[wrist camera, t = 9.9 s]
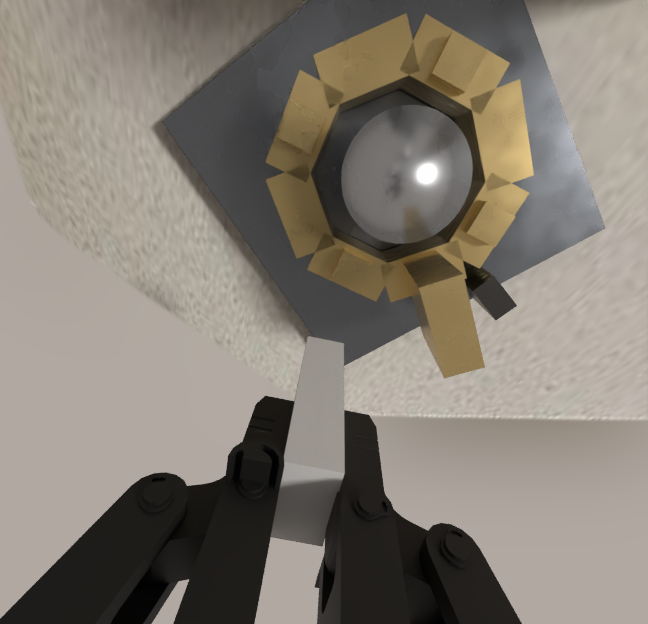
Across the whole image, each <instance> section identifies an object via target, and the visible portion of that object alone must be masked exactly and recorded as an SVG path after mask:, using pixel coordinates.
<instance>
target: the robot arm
mask: <svg viewBox="0 0 648 624" xmlns="http://www.w3.org/2000/svg"><path fill="white" fill-rule="evenodd" d="M377 439H378V438H377V430H376V426H375V425H374V423H373V421H372V419H371V418H370V416H369V415H366V414H361V413H356V412H351V411H345V410H344V343H340V342H335V341H330V340H325V339H320V338H315V337H310V336H308V337H307V342H306V347H305V352H304V357H303V361H302V366H301V371H300V376H299V381H298V386H297V390H296V395H295V400H294V401H289V400H284V399H279V398H274V397H268V396H265V397H264V398H262V399H261V400H260V401H259V402H258V403H257V404H256V406H255V409H254V412H253V414H252V417H251V420H250V422H249V425H248V428H247V431H246V434H245V437H244V439H243V442H241V443H240V444H239V445H237V446H235V447H234V448H233V449H232V451H231V452H230V454H229V455H228V463H227V470H226V476H224V477H223V478H221V479H220V480H217V481H215V482H212V483H207V484H202V485H192V486H187V485H186V484H185V482H184V480H183V479H181V478H180V477H178V476H177V475H174V474H169V473H155V474H151V475H149V476H146V477H144V478H141V479H140V480H139V481H137V482H136V483H135V484H133V485H132V486H131V487H130V488H129V489H128V490H127V491H126V492H125V493H124V494H123V495H122V496H121V497H120V498H119V499H118V500H117V501H116V502H115V503H114V504H113V505H112V506H111V507H110V508H109V509H108V510H107V511H106V512H105V513H104V514H103V515H102V516H101V517H100V519H98V520H97V521H96V522H95V523H94V524H93V525H92V526H91V527H90V528H89V529H88V530H87V531H86V532H85V534H83V535H82V537H80V538H79V539H78V541H77V542H76V543H75V544H74V545H73V546H72V547H71V548H70V549H69V550H68V551H67V552H66V553H65V554H64V555H63V556H62V557H61V558H60V559H59V560H58V561H57V562H56V563H55V564H54V565H53V566H52V567H51V568H50V569H49V570H48V571H47V572H46V573H45V574H44V575H43V576H42V577H41V578H40V579H39V580H38V581H37V582H36V583H35V584H34V585H33V586H32V587H31V588H30V589H29V590H28V591H27V592H26V593H25V594H24V595H23V596H22V597H21V598H20V599H19V600H18V601H17V602H16V603H15V604H14V605H13V606H12V607H11V609H10V610H8V612H6V614H5V615H4V616H3V617H2V618H1V619H0V624H151V623H152V622H153V620H154V619H155V617H156V615H157V614H158V612H159V611H160V609H161V608H162V606H163V605H164V603H165V601H166V600H167V598H168V597H169V595H170V593H171V592H172V590H173V589H174V587H175V586H176V584H177V583H178V581H182V580H187V579H189V582H188V585H187V588H186V590H185V593H184V596H183V599H182V601H181V604H180V607H179V610H178V613H177V615H176V618H175V621H174V624H254V622H255V617H256V612H257V606H258V601H259V596H260V590H261V585H262V579H263V574H264V568H265V564H266V558H267V553H268V548H269V542H270V537H274V538H280V539H285V540H290V541H296V542H301V543H307V544H312V545H317V546H323V542H324V539H325V554H324V558H323V560H322V564H321V567H320V570H319V573H318V576H317V580H316V584H315V587H317V588H319V601H318V619H317V624H522V623H521V622H520V620H519V618H518V616H517V614H516V613H515V611H514V609H513V607H512V606H511V604H510V602H509V600H508V598H507V597H506V595H505V593H504V591H503V590H502V588H501V586H500V584H499V582H498V581H497V579H496V577H495V576H494V573H493V572H492V570H491V568H490V566H489V565H488V563H487V561H486V559H485V557H484V556H483V554H482V552H481V550H480V549H479V547H478V546H477V545H476V543H475V542H474V540H473V539H472V538H471V537H470V536H469V535H468V534H466V533H465V532H464V531H463V530H461V529H459V528H457V527H455V526H453V525H451V524H444V523H440V524H437V525H433V526H432V527H431V528H430V529H429V531H427V530H425V529H423V528H421V527H419V526H417V525H415V524H413V523H411V522H409V521H408V520H406V519H404V518H403V517H401V516H400V515H399V514H398V513H397V512H396V511H394V509H393V507H392V504H391V502H390V501H389V499H388V498H387V497H386V495H385V492H384V487H383V479H382V471H381V462H380V456H379V455H380V454H379V447H378V441H377Z"/></svg>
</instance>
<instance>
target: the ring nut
mask: <svg viewBox="0 0 648 624" xmlns="http://www.w3.org/2000/svg"><path fill="white" fill-rule="evenodd" d="M313 57H314V61H315V65H316V70H317V73H318V76H319V79H320V80H318V79H316V78H314V77H313V76H311V75H309V74H307V73H305V72H303V71H301V70H300V71H299V73H298V76H297V79H296V81H295V84H294V87H293V89H292V92H291V95H290V97H289V100H288V103H287V105H286V108H285V111H284V113H283V116H282V119H281V122H280V124H279V127H278V130H277V132H276V135H275V138H274V140H273V143H272V146H271V148H270V151H269V154H268V156H267V159H266V163H268V164H270V165H272V166H274V167H276V168H278V169H280V170H282V171H284V173H282V174H279V175H277V176H274V177H272V178H269V179H267V180H266V182H267V185H268V187H269V190H270V192H271V195H272V197H273V200H274V203H275V205H276V208H277V210H278V213H279V215H280V218H281V220H282V223H283V225H284V228H285V230H286V233H287V235H288V238H289V241H290V243H291V246H292V248H293V251H294V253H295V256H296V258H300V257H303V256H306V255H309V254H312V253H313V254H312V257H311V259H310V262H309V265H308V268H307V270H309V271H311V272H313V273H315V274H317V275H320V276H322V277H324V278H326V279H328V280H330V281H333V282H335V283H337V284H339V285H341V286H343V287H345V288H348V289H350V290H352V291H354V292H356V293H358V294H361V295H363V296H365V297H367V298H369V299H371V300H374V301H377V299H378V297H379V296H380V294H381V292H382V290H383V288H384V287H385V289H386V292H387V294H388V297H389V300H390V302H394V301H397V300H400V299H403V298H406V297H410V296H412V299H413V302H414V306H415V309H416V313H417V316H418V320H419V323H420V327H421V330H422V333H423V336H424V338H425V340H426V343H427V345H428V347H429V349H430V351H431V353H432V355H433V357H434V359H435V361H436V363H437V365H438V367H439V369H440V371H441V373H442V375H443V377H444V378H447V377H451V376H454V375H458V374H462V373H465V372H469V371H473V370H476V369H480V368H484V367H485V366H484V362H483V357H482V353H481V349H480V344H479V340H478V336H477V331H476V327H475V323H474V318H473V314H472V310H471V305H470V301H469V297H468V292H467V288H466V283H465V279H467V277H466V272H465V268H464V263H463V261H465V262H467V263H469V264H471V265H473V266H475V267H477V268H479V269H480V268H481V266H482V265H483V263H484V262H485V260H486V259H487V257H488V255H489V254H490V252H491V251H492V249H493V248H494V247H496V246H497V244H498V243H499V241H500V240H501V238H502V237H503V235H504V234H505V232H506V231H507V229H508V228H509V226H510V224H511V223H512V221H513V220H514V218H515V214H516V213H517V211H518V210H519V208H520V207H521V205H522V204H523V202H524V201H525V199H526V198H527V196H528V195H529V192H527V191H525V190H523V189H521V188H520V187H518V186H516V185H514V184H512V183H513V182H516V181H519V180H522V179H525V178H528V177H530V176H533V175H534V172H533V165H532V158H531V151H530V144H529V137H528V130H527V123H526V117H525V110H524V103H523V96H522V89H521V82H520V79H519V80H516V81H514V82H511V83H509V84H506V85H504V86H501V87H499V88H496V87H497V86H498V84H499V82H500V80H501V78H502V77H503V75H504V73H505V71H506V70H507V68H508V66H509V64H510V63H509V62H507V61H506V60H504V59H502V58H501V57H499V56H497V55H495V54H494V53H492V52H490V51H489V50H487V49H485V48H484V47H482V46H480V45H478V44H477V43H475V42H473V41H472V40H470V39H468V38H466V37H465V36H463V35H461V34H460V33H458V32H456V31H454V30H453V29H451V28H449V27H448V26H446V25H444V24H442V23H441V22H439V21H437V20H436V19H434V18H432V17H430V16H429V15H427V14H425V16H424V18H423V20H422V21H421V23H420V25H419V27H418V29H417V31H416V32H415V34H414V36H413V38H412V35H411V31H410V26H409V22H408V17H407V13H405V14H403V15H401V16H399V17H397V18H394V19H392V20H390V21H388V22H385V23H383V24H381V25H379V26H377V27H374V28H372V29H370V30H368V31H365V32H363V33H361V34H359V35H356V36H354V37H352V38H350V39H348V40H345V41H343V42H341V43H339V44H336V45H334V46H332V47H330V48H327V49H325V50H323V51H321V52H319V53H316V54H314V55H313ZM399 88H400V89H402V90H404V91H406V92H408V93H410V94H411V95H413V96H415V97H417V98H419V99H420V100H422V101H424V102H426V103H428V104H430V105H431V106H433V107H435V108H437V109H439V110H440V111H442V112H444V113H446V114H448V115H450V116H451V117H453V118H454V119H455V124H456V125H457V126H458V127H459V128H460V130H461V131H462V132H463V134H464V136H465V138H466V140H467V142H468V145H469V148H470V152H471V156H472V165H473V170H472V181H471V186H470V189H469V193H468V196H467V198H466V200H465V203H464V204H463V206H462V208H461V210H460V211H459V212H458V214H457V215H456V217H455V218H454V219H453V220H452V221H451V222H450V223H449V224H448V225H447V226H446V227H445V228H443V229H442V230H441V231H439V232H438V233H436V234H435V235H433V236H431V237H429V238H427V239H424V240H421V241H418V242H413V243H407V244H404V245H401V246H398V247H395V248H392V249H390V250H387V251H384V252H381V251H379V250H377V249H375V248H373V247H371V246H369V245H367V244H365V243H363V242H360V241H358V240H356V239H354V238H352V237H350V236H348V235H346V234H344V233H342V232H340V231H338V230H336V229H334V228H333V226H332V223H331V220H330V217H329V214H328V211H327V208H326V206H325V203H324V200H323V197H322V194H321V191H320V188H319V185H318V182H317V180H316V177H315V174H314V172H315V170H316V167H317V165H318V163H319V160H320V158H321V155H322V153H323V151H324V148H325V146H326V144H327V141H328V139H329V137H330V134H331V132H332V130H333V127H334V125H335V123H336V120H337V118H338V116H339V113H341V112H343V111H346V110H348V109H350V108H353V107H355V106H358V105H360V104H362V103H365V102H367V101H370V100H372V99H374V98H377V97H379V96H382V95H384V94H387V93H389V92H391V91H394V90H396V89H399Z"/></svg>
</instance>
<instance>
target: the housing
mask: <svg viewBox="0 0 648 624" xmlns="http://www.w3.org/2000/svg"><path fill="white" fill-rule="evenodd" d="M405 13H407V17H408V22H409V26H410V31H411V35H412V38H413V36H414V34H415V32H416V31H417V29H418V27H419V25H420V23H421V21H422V20H423V18H424V16H425V14H427V15H429V16H430V17H432V18H434V19H436V20H437V21H439V22H441V23H442V24H444V25H446V26H448V27H449V28H451V29H453V30H454V31H456V32H458V33H460V34H461V35H463V36H465V37H466V38H468V39H470V40H472V41H473V42H475V43H477V44H478V45H480V46H482V47H484V48H485V49H487V50H489V51H490V52H492V53H494V54H495V55H497V56H499V57H501V58H502V59H504V60H506V61H507V62H509V63H510V64H509V66H508V68H507V70H506V71H505V73H504V75H503V77H502V78H501V80H500V82H499V84H498V86H497V87H496V88H499V87H501V86H504V85H506V84H509V83H511V82H514V81H516V80H519V79H520V82H521V89H522V96H523V103H524V110H525V117H526V123H527V130H528V137H529V144H530V151H531V158H532V165H533V172H534V175H533V176H530V177H528V178H525V179H522V180H519V181H516V182H513V183H512V184H514V185H516V186H518V187H520V188H521V189H523V190H525V191H527V192H529V195H528V196H527V198H526V199H525V201H524V202H523V204H522V205H521V207H520V208H519V210H518V211H517V213H516V214H515V218H514V220H513V221H512V223H511V224H510V226H509V228H508V229H507V231H506V232H505V234H504V235H503V237H502V238H501V240H500V241H499V243H498V244H497V246H496V247H494V248H493V249H492V251H491V252H490V254H489V255H488V257H487V259H486V260H485V262H484V263H483V265H482V266H481V268H480V269H479V268H477V267H475V266H473V265H471V264H469V263H467V262H465V261H463V263H464V268H465V272H466V277H467V279H465V283H466V288H467V292H468V297H469V300H470V299H472V298H473V299H474V300H475V301H476V302H477V303H479V304H480V305H481V306H482V307H483V308H484V309H485V310H486V311H487V312H488V313H489V314H490V315H491V316H492V317H493V318H494V319H495V320H497V319H499V318H500V317H501V316H503V315H504V314H506V313H507V312H509V311H510V310H511V309H513V308H514V307H516V306H517V305H516V304H515V303H514V301H513V300H512V299H511V297H510V296H509V295H508V293H507V292H506V291H505V290H504V288H503V287H502V286H501V284H500V283H502V282H504V281H506V280H508V279H510V278H512V277H514V276H516V275H518V274H520V273H521V272H523V271H525V270H527V269H529V268H531V267H533V266H535V265H537V264H539V263H540V262H542V261H544V260H546V259H548V258H550V257H552V256H554V255H556V254H558V253H559V252H561V251H563V250H565V249H567V248H569V247H571V246H573V245H575V244H577V243H578V242H580V241H582V240H584V239H586V238H588V237H590V236H592V235H594V234H596V233H597V232H599V231H601V230H603V229H605V226H604V223H603V220H602V218H601V215H600V212H599V209H598V206H597V204H596V201H595V198H594V195H593V192H592V190H591V187H590V184H589V181H588V178H587V176H586V173H585V170H584V167H583V164H582V162H581V159H580V156H579V153H578V150H577V148H576V145H575V142H574V139H573V136H572V134H571V131H570V128H569V125H568V122H567V120H566V117H565V114H564V111H563V109H562V106H561V103H560V100H559V97H558V95H557V92H556V89H555V86H554V83H553V81H552V78H551V75H550V72H549V69H548V67H547V64H546V61H545V58H544V55H543V53H542V50H541V47H540V44H539V41H538V39H537V36H536V33H535V30H534V27H533V25H532V22H531V19H530V16H529V13H528V11H527V8H526V5H525V2H524V0H309V1H308V2H307V3H305V4H304V5H303V6H302V7H301V8H299V9H298V10H297V11H296V12H294V13H293V14H292V15H291V16H290V17H288V18H287V19H286V20H285V21H284V22H282V23H281V24H280V25H279V26H278V27H276V28H275V29H274V30H273V31H271V32H270V33H269V34H268V35H267V36H265V37H264V38H263V39H262V40H261V41H259V42H258V43H257V44H256V45H254V46H253V47H252V48H251V49H250V50H248V51H247V52H246V53H245V54H244V55H242V56H241V57H240V58H239V59H237V60H236V61H235V62H234V63H233V64H231V65H230V66H229V67H228V68H227V69H225V70H224V71H223V72H222V73H221V74H219V75H218V76H217V77H216V78H214V79H213V80H212V81H211V82H210V83H208V84H207V85H206V86H205V87H204V88H202V89H201V90H200V91H199V92H197V93H196V94H195V95H194V96H193V97H191V98H190V99H189V100H188V101H187V102H185V103H184V104H183V105H182V106H180V107H179V108H178V109H177V110H176V111H174V112H173V113H172V114H171V115H170V116H168V117H167V118H166V119H165V120H164V121H162V122H163V124H164V125H165V126H166V128H167V129H168V131H169V132H170V134H171V135H172V136H173V138H174V139H175V141H176V142H177V144H178V145H179V146H180V148H181V149H182V151H183V152H184V153H185V155H186V156H187V158H188V159H189V161H190V162H191V163H192V165H193V166H194V168H195V169H196V170H197V172H198V173H199V175H200V176H201V178H202V179H203V180H204V182H205V183H206V185H207V186H208V187H209V189H210V190H211V192H212V193H213V195H214V196H215V197H216V199H217V200H218V202H219V203H220V204H221V206H222V207H223V209H224V210H225V212H226V213H227V214H228V216H229V217H230V219H231V220H232V221H233V223H234V224H235V226H236V227H237V229H238V230H239V231H240V233H241V234H242V236H243V237H244V239H245V240H246V241H247V243H248V244H249V246H250V247H251V248H252V250H253V251H254V253H255V254H256V256H257V257H258V258H259V260H260V261H261V263H262V264H263V265H264V267H265V268H266V270H267V271H268V273H269V274H270V275H271V277H272V278H273V280H274V281H275V282H276V284H277V285H278V287H279V288H280V290H281V291H282V292H283V294H284V295H285V297H286V298H287V299H288V301H289V302H290V304H291V305H292V307H293V308H294V309H295V311H296V312H297V314H298V315H299V316H300V318H301V319H302V321H303V322H304V324H305V325H306V326H307V328H308V329H309V331H310V332H311V334H312V335H313V336H314V337H315V338H320V339H325V340H330V341H335V342H340V343H344V366H345V365H346V364H348V363H350V362H352V361H354V360H356V359H358V358H360V357H362V356H364V355H366V354H367V353H369V352H371V351H373V350H375V349H377V348H379V347H381V346H383V345H385V344H386V343H388V342H390V341H392V340H394V339H396V338H398V337H400V336H402V335H404V334H405V333H407V332H409V331H411V330H413V329H415V328H417V327H419V326H420V323H419V320H418V316H417V313H416V309H415V306H414V302H413V299H412V296H410V297H406V298H403V299H400V300H397V301H394V302H390V300H389V297H388V294H387V292H386V289H385V287H384V288H383V290H382V292H381V294H380V296H379V297H378V299H377V301H374V300H371V299H369V298H367V297H365V296H363V295H361V294H358V293H356V292H354V291H352V290H350V289H348V288H345V287H343V286H341V285H339V284H337V283H335V282H333V281H330V280H328V279H326V278H324V277H322V276H320V275H317V274H315V273H313V272H311V271H309V270H307V268H308V265H309V262H310V259H311V257H312V254H313V253H312V254H309V255H306V256H303V257H300V258H296V256H295V253H294V251H293V248H292V246H291V243H290V241H289V238H288V235H287V233H286V230H285V228H284V225H283V223H282V220H281V218H280V215H279V213H278V210H277V208H276V205H275V203H274V200H273V197H272V195H271V192H270V190H269V187H268V185H267V182H266V180H267V179H269V178H272V177H274V176H277V175H279V174H282V173H284V171H282V170H280V169H278V168H276V167H274V166H272V165H270V164H268V163H266V159H267V156H268V154H269V151H270V148H271V146H272V143H273V140H274V138H275V135H276V132H277V130H278V127H279V124H280V122H281V119H282V116H283V113H284V111H285V108H286V105H287V103H288V100H289V97H290V95H291V92H292V89H293V87H294V84H295V81H296V79H297V76H298V73H299V71H300V70H301V71H303V72H305V73H307V74H309V75H311V76H313V77H314V78H316V79H318V80H320V79H319V76H318V73H317V70H316V65H315V61H314V57H313V55H314V54H316V53H319V52H321V51H323V50H325V49H327V48H330V47H332V46H334V45H336V44H339V43H341V42H343V41H345V40H348V39H350V38H352V37H354V36H356V35H359V34H361V33H363V32H365V31H368V30H370V29H372V28H374V27H377V26H379V25H381V24H383V23H385V22H388V21H390V20H392V19H394V18H397V17H399V16H401V15H403V14H405ZM472 170H473V165H472V156H471V152H470V148H469V145H468V142H467V140H466V138H465V136H464V134H463V132H462V131H461V130H460V128H459V127H458V126H457V125H456V124H455V119H454V118H453V117H451V116H450V115H448V114H446V113H444V112H442V111H440V110H439V109H437V108H435V107H433V106H431V105H430V104H428V103H426V102H424V101H422V100H420V99H419V98H417V97H415V96H413V95H411V94H410V93H408V92H406V91H404V90H402V89H400V88H399V89H396V90H394V91H391V92H389V93H387V94H384V95H382V96H379V97H377V98H374V99H372V100H370V101H367V102H365V103H362V104H360V105H358V106H355V107H353V108H350V109H348V110H346V111H343V112H341V113H339V116H338V118H337V120H336V123H335V125H334V127H333V130H332V132H331V134H330V137H329V139H328V141H327V144H326V146H325V148H324V151H323V153H322V155H321V158H320V160H319V163H318V165H317V167H316V170H315V172H314V174H315V177H316V180H317V182H318V185H319V188H320V191H321V194H322V197H323V200H324V203H325V206H326V208H327V211H328V214H329V217H330V220H331V223H332V226H333V228H334V229H336V230H338V231H340V232H342V233H344V234H346V235H348V236H350V237H352V238H354V239H356V240H358V241H360V242H363V243H365V244H367V245H369V246H371V247H373V248H375V249H377V250H379V251H381V252H384V251H387V250H390V249H392V248H395V247H398V246H401V245H404V244H407V243H413V242H418V241H421V240H424V239H427V238H429V237H431V236H433V235H435V234H436V233H438V232H439V231H441V230H442V229H443V228H445V227H446V226H447V225H448V224H449V223H450V222H451V221H452V220H453V219H454V218H455V217H456V215H457V214H458V212H459V211H460V210H461V208H462V206H463V204H464V203H465V200H466V198H467V196H468V193H469V189H470V186H471V181H472Z"/></svg>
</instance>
